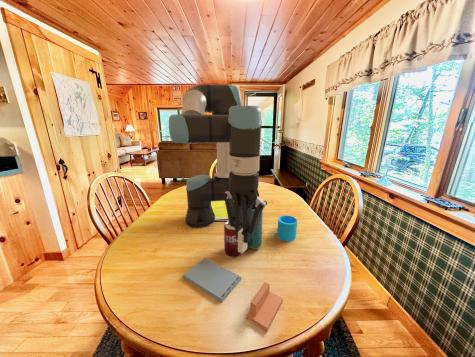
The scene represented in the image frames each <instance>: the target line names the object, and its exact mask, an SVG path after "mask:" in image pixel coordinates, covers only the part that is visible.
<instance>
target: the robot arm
mask: <svg viewBox="0 0 475 357" xmlns="http://www.w3.org/2000/svg"><path fill="white" fill-rule="evenodd" d="M181 101H182V109H181V113H177V114H171V115H170V116H169V117H168V118H169V119H168V131H169V132H168V133H169V138H170V141H172V142H173V143H175V144H184V145H185V144H207V143H213V144H215V143H216V162H217V163H216V165H217V168H216V169H217V171H216V172H215V173H214V176H213V177H211V176H210V174H209V175H208V174H198V175H194V176H192V177H190V178H188V179H187V180H186V182H185V184H186V186H185V187H186V188H185V190H186V200H187V211H186V214H185V217H184V218H185V219H184V220H185V221H184V222H185V224H186V225H187V226H188V227H191V228H205V227H208V226H210V225H212V224H213V223H215V221H216V215H215V214H216V213H215V212H214V209H213V207H212V202H223V201H224V203H225V204H224V205H225V208H226V213H227V220H228V221H229V224H230V226H231V227H234V228H235V230H236V239H237V240H238V252H240V253H242V254H243V253H245V251H246V250H247V249H248V246H247V243H248V242H249V240H250V234H252V233H253V232H254V231H255V230H257V227H258V224H259V221H260V217H261V214H262V212H264V211H263V210H264V208H265V207H266V206H267V205H268V202H267V200H263V199H262V198H261V197H260V193H259V180H260V174H259V171H260V153H261V139H262V138H261V135H262V133H261V132H262V126H263V125H262V124H263V120H262V109H261V107H260V106H257V105H242V97H241V92H240V89H239V88H238V86H237V85H235V84H233V85H232V84H216V83H215V84H211V83H203V84H201V83H200V84H197V85H194V86H192V87H190V88H188V89H187V90H186V91H185V92H184V93H183V96H182V100H181ZM206 113H208V114H206ZM209 113H211V114H209ZM255 201H256V205H255V207H256V209H255V211H254V214H253V218H252V221H251V216H252V207H253V203H254V202H255ZM242 227H243V228H242Z"/></svg>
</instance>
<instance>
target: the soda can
mask: <svg viewBox="0 0 475 357" xmlns="http://www.w3.org/2000/svg"><path fill="white" fill-rule="evenodd" d="M242 228H243V227H242ZM223 230H224V231H223V233H224V234H223V240H224V242H223V243H224V244H223V245H224V253H225V255H226V256H227V257H230V258H238V257H240V256H242V254H243V253H240V252H238V240H237V239H236V230H235V228H234V227H231V226H230V224H229V220H228V221H227V222H225V223H224V225H223Z"/></svg>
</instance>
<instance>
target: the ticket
mask: <svg viewBox="0 0 475 357" xmlns="http://www.w3.org/2000/svg"><path fill="white" fill-rule="evenodd" d="M182 276H183V279H185V280H186V281H187V282H189V283H191V284H192V285H194V286H196V287H197V288H198V289H200V290H202V291H203V292H205V293H206V294H208V295H210V297H212V298H214V299H216V300H217V301H219V302H220V303H223V302H224V301H225V300H226V298H227V297H228V296H229V295H230V294H231V292H232V291H233V290H234V289H235V288H236V287H237V285H239V283H240V282H241V281H242V276H241V275H239V274H237V273H235V272H233V271H231V270H229V269H228V268H226V267H223V266H222V265H219V264H217V263H216V262H214V261H212V260H210V259H208V258H206V257H204V258H202V259H201V260H200V261H198V262H197V263H195V265H194V266H192V267H191V268H190V269H189V270H188V271H186V272H185V273H184V274H183V275H182Z"/></svg>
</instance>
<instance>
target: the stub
mask: <svg viewBox="0 0 475 357" xmlns="http://www.w3.org/2000/svg"><path fill="white" fill-rule="evenodd" d="M270 286H271V284H270V283H268V282H267V281H264V282H263V283H262V285H261V286H260V288H259V289H258V290H257V292H256V293H255V295H254V297H253V298H252V300H250V305H249V306H250V308H249V310H248V312H247V313H246V316H245V319H246V320H248V321H250V322H251V321H252V322H251V323H253V324H254V323H255V324H254V325H256V326H257V327H259V328H260V327H261V329H262V330H264V331H265V332H268V331H269V329H270V327H271V325H272V322H273V321H274V320H275V317H276V316H277V313H278V312H279V310H280V307H281V305H282V304H283V301H284V298H283V297H282V296H279V295H278V294H276V293H274V292H272V291H270Z"/></svg>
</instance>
